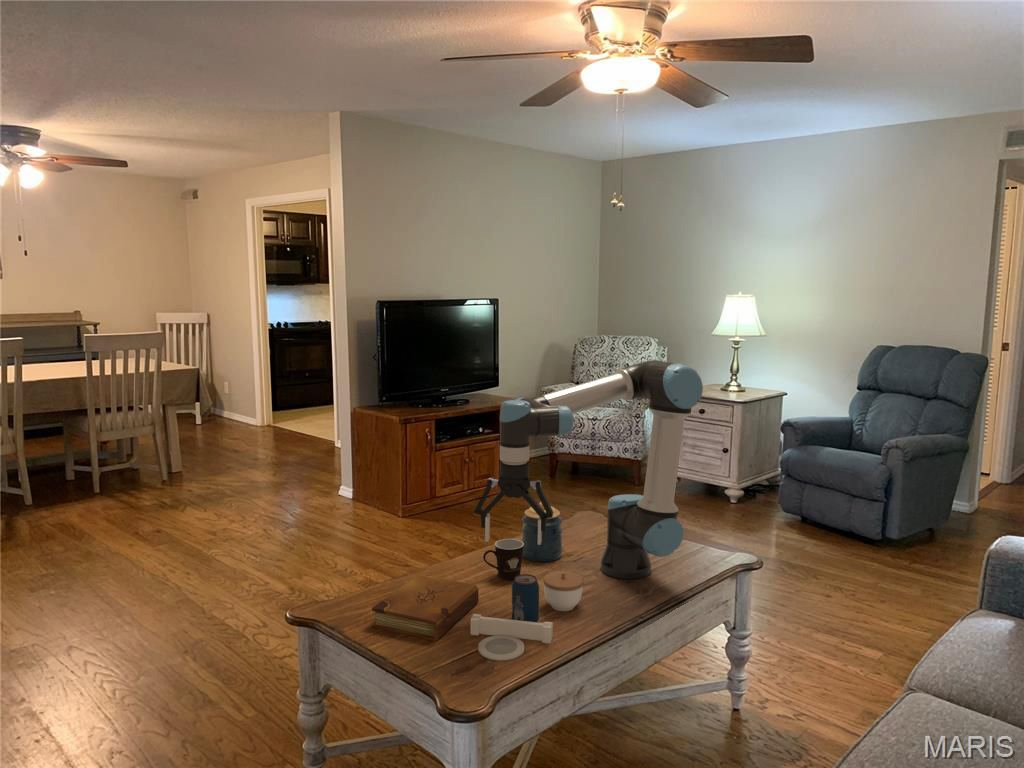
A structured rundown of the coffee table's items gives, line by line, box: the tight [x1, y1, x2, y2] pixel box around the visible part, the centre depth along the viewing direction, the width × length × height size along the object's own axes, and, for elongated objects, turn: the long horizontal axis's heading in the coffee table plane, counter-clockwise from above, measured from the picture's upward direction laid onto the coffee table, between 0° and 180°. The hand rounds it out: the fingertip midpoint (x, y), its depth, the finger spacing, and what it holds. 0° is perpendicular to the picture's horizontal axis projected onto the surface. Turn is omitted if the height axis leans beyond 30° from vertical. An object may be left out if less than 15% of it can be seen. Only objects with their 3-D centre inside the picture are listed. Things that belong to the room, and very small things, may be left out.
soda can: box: [511, 573, 540, 623], centre depth 183 cm, size 7×7×12 cm
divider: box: [470, 613, 554, 645], centre depth 176 cm, size 20×3×4 cm, turn 78°
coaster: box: [477, 635, 525, 662], centre depth 171 cm, size 11×11×1 cm
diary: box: [371, 574, 479, 642], centre depth 188 cm, size 23×19×6 cm
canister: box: [521, 501, 564, 563], centre depth 229 cm, size 13×13×18 cm
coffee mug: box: [482, 538, 524, 581], centre depth 213 cm, size 12×9×10 cm
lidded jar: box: [543, 570, 584, 612], centre depth 193 cm, size 11×11×9 cm
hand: (513, 541), depth 185 cm, fingers open, 13 cm apart
